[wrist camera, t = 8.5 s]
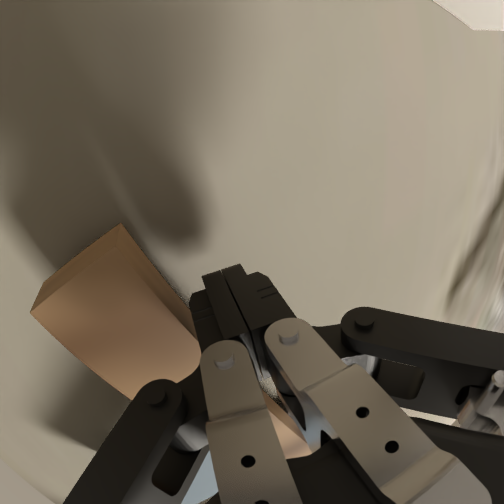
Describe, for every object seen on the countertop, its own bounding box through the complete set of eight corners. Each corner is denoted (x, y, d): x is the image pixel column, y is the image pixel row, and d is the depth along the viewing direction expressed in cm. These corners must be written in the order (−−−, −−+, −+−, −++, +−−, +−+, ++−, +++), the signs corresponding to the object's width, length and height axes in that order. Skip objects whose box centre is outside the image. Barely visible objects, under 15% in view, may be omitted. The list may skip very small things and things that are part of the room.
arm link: (326, 443, 22) (336, 460, 21) (278, 469, 22) (286, 486, 20) (132, 214, 10) (129, 236, 8) (36, 288, 9) (21, 319, 8)
